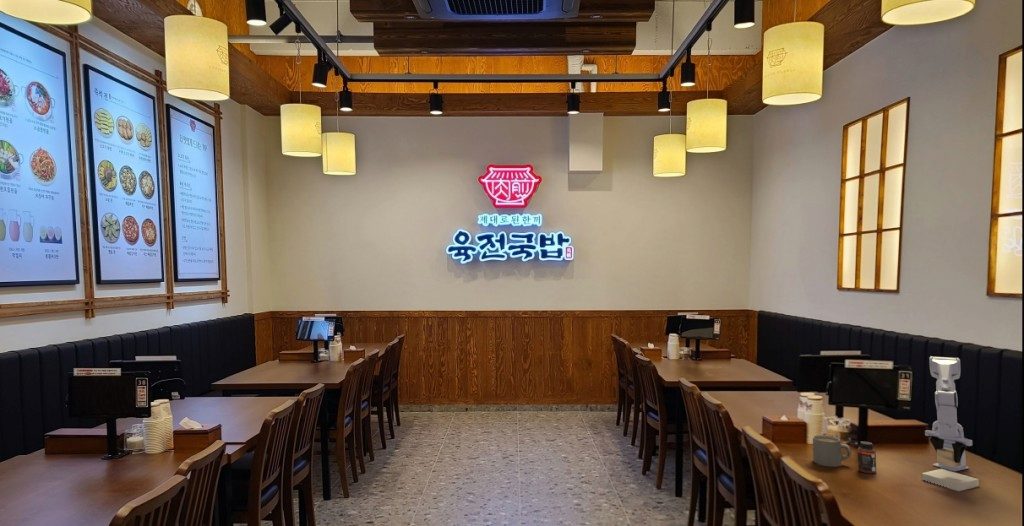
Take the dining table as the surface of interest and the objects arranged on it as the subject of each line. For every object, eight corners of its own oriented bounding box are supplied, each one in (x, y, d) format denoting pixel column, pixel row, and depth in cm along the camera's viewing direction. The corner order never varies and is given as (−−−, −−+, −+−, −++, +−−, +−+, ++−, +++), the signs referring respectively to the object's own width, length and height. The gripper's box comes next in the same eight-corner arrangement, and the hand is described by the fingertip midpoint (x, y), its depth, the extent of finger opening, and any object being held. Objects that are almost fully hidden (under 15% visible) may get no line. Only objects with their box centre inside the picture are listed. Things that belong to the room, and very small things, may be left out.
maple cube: (945, 461, 199) (944, 447, 199) (960, 465, 195) (960, 451, 195) (937, 463, 197) (936, 449, 198) (952, 467, 193) (951, 453, 193)
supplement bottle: (879, 474, 205) (878, 445, 205) (862, 473, 206) (861, 444, 207) (872, 469, 211) (871, 440, 211) (855, 468, 212) (854, 440, 212)
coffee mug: (812, 464, 218) (812, 439, 218) (814, 457, 226) (813, 433, 226) (851, 470, 210) (850, 444, 211) (851, 462, 219) (850, 438, 219)
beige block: (941, 476, 204) (941, 468, 204) (978, 487, 192) (978, 479, 193) (922, 481, 199) (921, 473, 199) (958, 492, 188) (958, 484, 188)
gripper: (919, 419, 202) (920, 455, 201) (963, 429, 188) (965, 467, 188) (930, 417, 205) (932, 453, 204) (975, 427, 191) (976, 465, 191)
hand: (948, 460), depth 196 cm, fingers closed on maple cube, 5 cm apart
